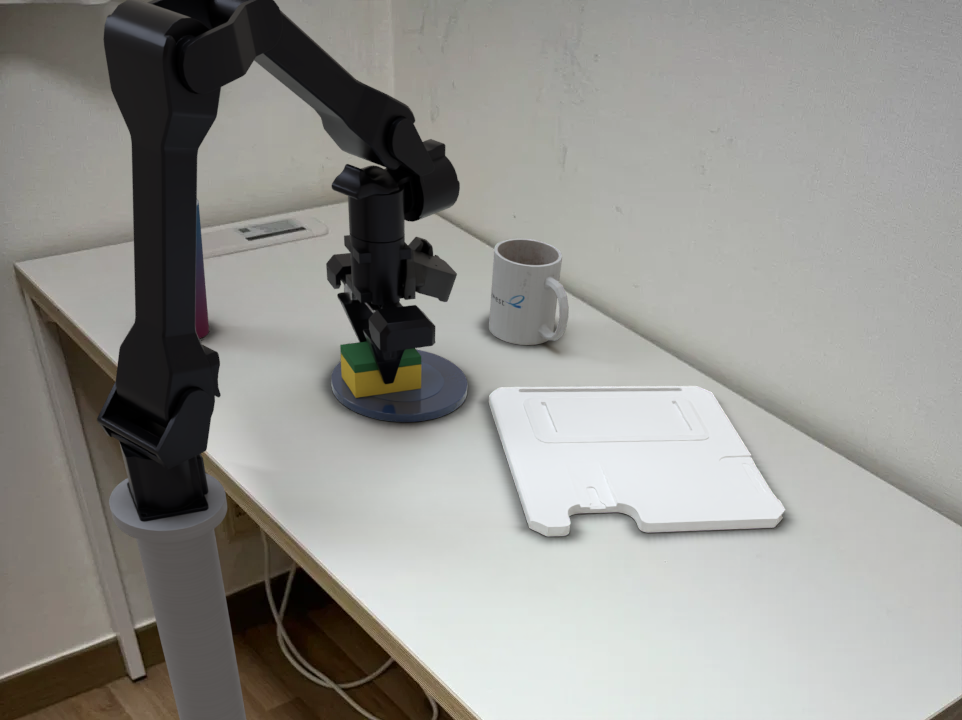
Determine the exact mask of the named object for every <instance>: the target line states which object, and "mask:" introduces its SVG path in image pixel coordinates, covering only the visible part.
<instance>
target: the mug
mask: <svg viewBox="0 0 962 720" xmlns="http://www.w3.org/2000/svg"><path fill="white" fill-rule="evenodd" d="M562 262H563V254H562V252H561V250H560V249H559V248H557V247H556V246H554V245H552V244H550V243H547V242H545V241H541V240H538V239H533V238H532V239H531V238H521V237H520V238H508V239H504V240H501V241H499V242H497V243H496V244H495V246H494V247H493V262H492V275H491V277H492V278H491V288H490V290H491V291H490V306H489V319H488V321H489V323H488V329H489V332H490V333H491V334H492V335H493V336H494V337H496V338H497V339H498V340H500V341H503V342H506V343H510V344H515V345H519V346H520V345H521V346H534V345H540V344H543V343H546V342H549V341H555V342H556V341H558V340H559V339H560V338H561V337H562V336H564V334H565V332H566V329H567V326H568V321H569V314H570V313H569V312H570V311H569V307H570V306H569V300H568V299H569V298H568V294H567V292H566V289H565V287H564V285H563V284H562V283H560V282H561V281H560V280H561V270H562ZM557 304H558V310H559V311H558V312H559V313H558V321H557V326H556V329H555V322H556V314H557V313H556V312H557ZM554 330H555V331H554Z"/></svg>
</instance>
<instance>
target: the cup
mask: <svg viewBox="0 0 962 720" xmlns="http://www.w3.org/2000/svg"><path fill="white" fill-rule="evenodd" d="M205 274H206V273H205V262H204V251H203V237H202V224H201V213H200V201H199V199H198V198H197V223H196V302H195V328H196V333H197V335H198V338H199V339H202V338H204V337H206V336H207V335H208V334H209V332H210V324H209V313H208V301H207V299H208V298H207V288H206V275H205Z"/></svg>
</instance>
